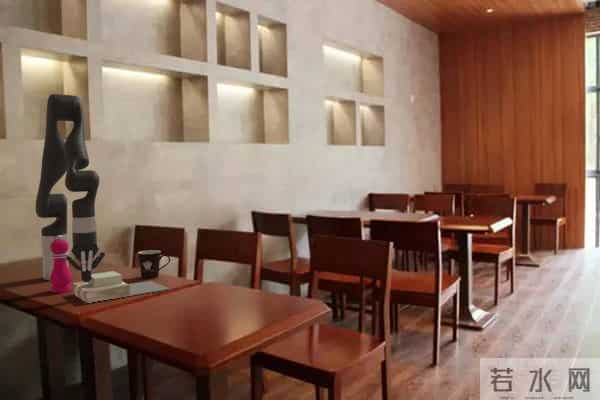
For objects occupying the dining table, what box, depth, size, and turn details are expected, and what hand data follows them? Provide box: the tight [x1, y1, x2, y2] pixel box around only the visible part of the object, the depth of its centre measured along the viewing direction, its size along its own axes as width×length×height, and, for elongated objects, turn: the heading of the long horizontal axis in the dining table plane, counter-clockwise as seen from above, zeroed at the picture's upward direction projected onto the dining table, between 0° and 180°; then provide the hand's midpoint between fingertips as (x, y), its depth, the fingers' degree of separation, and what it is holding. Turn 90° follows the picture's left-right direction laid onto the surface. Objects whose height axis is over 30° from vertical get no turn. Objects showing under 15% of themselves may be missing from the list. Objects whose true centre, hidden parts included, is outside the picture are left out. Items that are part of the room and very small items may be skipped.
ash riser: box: [72, 280, 130, 304], centre depth 185 cm, size 16×14×4 cm
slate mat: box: [128, 280, 170, 297], centre depth 193 cm, size 16×14×1 cm
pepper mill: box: [49, 235, 73, 294], centre depth 191 cm, size 7×7×20 cm
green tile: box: [88, 270, 123, 288], centre depth 185 cm, size 8×9×3 cm
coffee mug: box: [137, 249, 171, 280], centre depth 212 cm, size 12×9×10 cm
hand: (86, 281), depth 181 cm, fingers closed
